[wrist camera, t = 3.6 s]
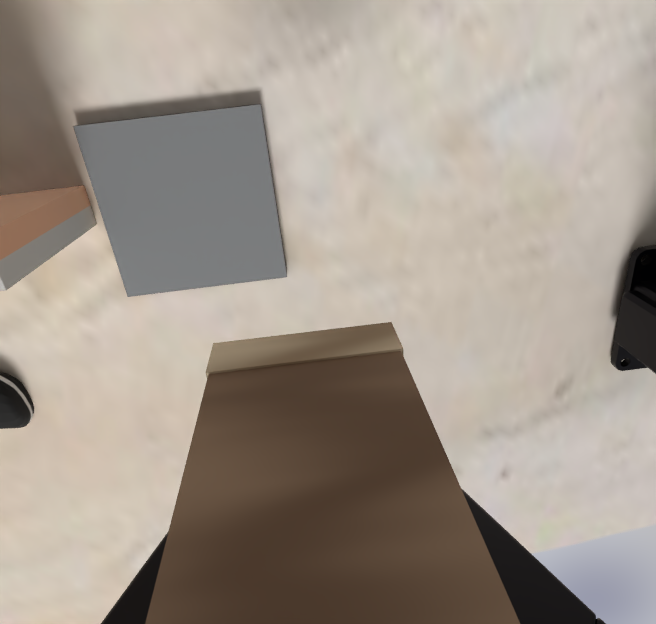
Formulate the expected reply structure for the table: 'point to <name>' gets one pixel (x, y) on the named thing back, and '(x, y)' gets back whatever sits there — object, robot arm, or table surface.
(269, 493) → the wooden post stub
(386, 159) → the table surface
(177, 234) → the pad
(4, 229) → the tile
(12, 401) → the kitchen cleaver
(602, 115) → the table surface
